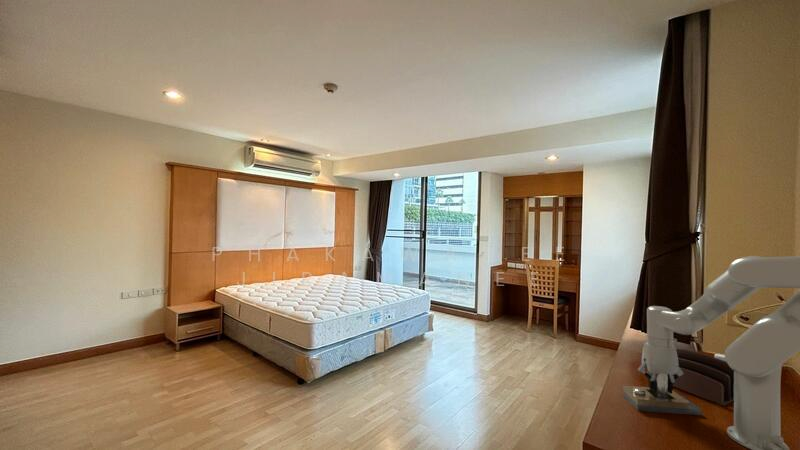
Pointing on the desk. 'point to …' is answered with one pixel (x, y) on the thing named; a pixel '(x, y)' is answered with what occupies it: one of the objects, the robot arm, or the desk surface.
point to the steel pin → (661, 386)
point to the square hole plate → (659, 401)
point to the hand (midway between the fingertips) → (660, 390)
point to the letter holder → (705, 376)
